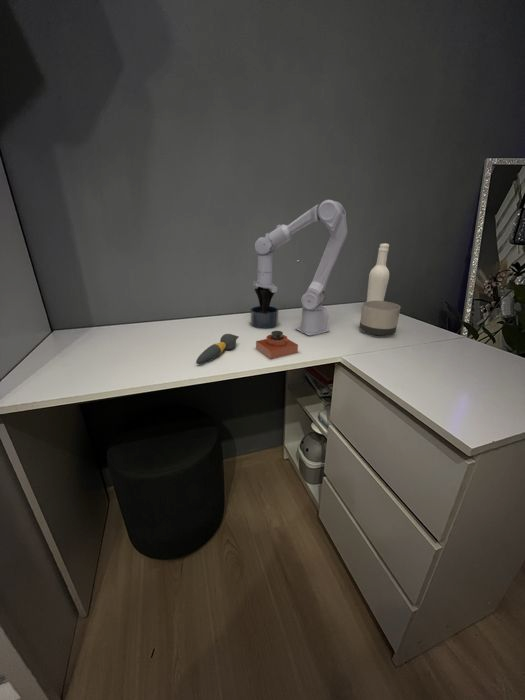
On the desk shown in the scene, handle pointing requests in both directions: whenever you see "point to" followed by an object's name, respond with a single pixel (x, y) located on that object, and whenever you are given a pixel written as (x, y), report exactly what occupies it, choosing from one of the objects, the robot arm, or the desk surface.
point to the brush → (264, 309)
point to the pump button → (276, 335)
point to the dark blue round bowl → (264, 317)
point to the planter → (379, 318)
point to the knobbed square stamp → (276, 347)
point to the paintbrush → (217, 348)
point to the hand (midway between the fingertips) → (264, 307)
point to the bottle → (379, 276)
